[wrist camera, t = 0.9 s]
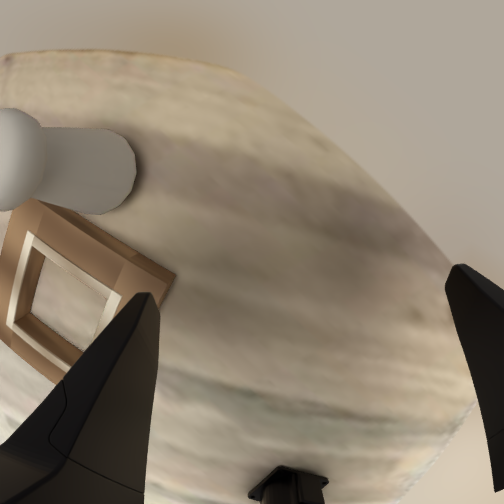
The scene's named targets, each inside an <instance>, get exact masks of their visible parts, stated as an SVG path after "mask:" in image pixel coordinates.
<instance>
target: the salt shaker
mask: <svg viewBox="0 0 504 504" xmlns="http://www.w3.org/2000/svg"><path fill="white" fill-rule="evenodd" d="M136 173H137V171H136V162H135V154H134V152H133V150H132V149H131V147H130V146H129V144H128V142H127V141H126V139H125V138H124V137H122V136H120V135H118V134H117V133H115V132H113V131H111V130H109V129H93V128H62V127H41V125H40V123H39V122H38V121H37V119H35V118H33V117H32V116H30V115H28V114H27V113H25V112H23V111H21V110H18V109H14V108H5V109H1V110H0V211H9V210H14V209H15V208H17V207H18V206H20V205H21V204H22V203H24V202H25V201H27V200H28V199H30V198H34V199H37V200H41V201H44V202H47V203H51V204H54V205H57V206H61V207H64V208H67V209H71V210H74V211H77V212H81V213H84V214H95V215H102V214H104V213H106V212H108V211H110V210H112V209H114V208H116V207H118V206H120V204H121V203H122V202H123V201H124V199H125V198H126V197H127V196H128V195H129V193H130V192H131V190H132V188H133V183H134V180H135V176H136Z"/></svg>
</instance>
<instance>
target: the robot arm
mask: <svg viewBox="0 0 504 504" xmlns="http://www.w3.org/2000/svg"><path fill="white" fill-rule="evenodd" d="M445 292H446V295H447V299H448V302H449V305H450V309H451V312H452V316H453V320H454V323H455V327H456V331H457V334H458V337H459V340H460V342H461V345H462V348H463V351H464V354H465V357H466V360H467V364H468V367H469V370H470V373H471V377H472V380H473V384H474V387H475V391H476V395H477V398H478V402H479V406H480V410H481V415H482V419H483V423H484V428H485V433H486V438H487V444H488V450H489V455H490V462H491V468H492V476H493V485H494V491H495V493H496V492H498V491H500V490H503V489H504V290H503V289H501V288H500V287H499V286H497V285H496V284H494V283H493V282H492V281H490V280H489V279H487V278H486V277H484V276H483V275H481V274H480V273H478V272H477V271H475V270H474V269H472V268H471V267H469V266H468V265H466V264H456V265H454V266H453V267H452V269H451V271H450V274H449V276H448V278H447V281H446V283H445ZM159 333H160V312H159V309H158V307H157V304H156V302H155V299H154V297H153V295H152V293H151V292H137V293H136V294H135V295H134V296H133V297H132V298H131V299H130V300H129V301H128V302H127V304H126V305H125V306H124V307H123V308H122V309H121V310H120V311H119V312H118V314H117V315H116V316H115V317H114V318H113V319H112V320H111V321H110V323H109V324H108V325H107V326H106V327H105V328H104V329H103V331H102V332H101V333H100V334H99V335H98V336H97V337H96V339H95V340H94V341H93V342H92V343H91V344H90V346H89V347H88V348H87V349H86V350H85V351H84V353H83V354H82V355H81V356H80V357H79V359H78V360H77V361H76V362H75V363H74V365H73V366H72V367H71V368H70V369H69V371H68V372H67V373H66V374H65V375H64V377H63V379H61V380H60V381H59V383H58V384H57V385H56V386H55V388H54V389H53V390H52V391H51V392H50V393H49V395H48V396H47V397H46V398H45V399H44V401H43V402H42V403H41V404H40V405H39V406H38V407H37V408H36V409H35V410H34V412H33V413H32V414H31V415H30V416H29V417H28V418H27V419H26V420H25V421H24V422H23V423H22V424H21V425H20V426H19V428H18V429H17V430H16V431H15V432H14V433H13V434H12V435H11V436H10V437H9V438H8V439H7V440H6V441H5V442H4V443H3V444H1V445H0V504H144V490H145V476H146V464H147V453H148V443H149V433H150V424H151V416H152V408H153V400H154V392H155V385H156V378H157V371H158V358H159ZM328 483H329V481H328V478H324V477H320V476H316V475H312V474H308V473H304V472H300V471H296V470H293V469H289V468H286V467H277V468H276V469H275V470H274V471H273V472H272V473H271V474H270V475H269V476H268V477H266V478H265V479H264V480H263V481H262V482H261V483H260V484H259V485H258V486H256V487H255V488H254V489H253V490H252V491H251V492H250V493H249V494H248V498H249V499H253V500H256V501H260V504H325V502H324V498H323V493H322V488H324V487H325V486H326V485H327V484H328Z"/></svg>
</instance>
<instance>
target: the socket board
mask: <svg viewBox="0 0 504 504" xmlns="http://www.w3.org/2000/svg"><path fill="white" fill-rule="evenodd" d="M45 256H46V257H47V258H49V259H50V260H51V261H53V262H54V263H56V264H57V265H58V266H60V267H61V268H62V269H64V270H65V271H67V272H68V273H69V274H71V275H72V276H74V277H75V278H76V279H78V280H79V281H81V282H82V283H84V284H85V285H86V286H88V287H89V288H91V289H92V290H94V291H95V292H97V293H98V294H100V295H101V296H103V297H104V298H106V299H107V300H108V301H107V304H106V306H105V309H104V311H103V314H102V316H101V319H100V321H99V324H98V327H97V329H96V332H95V335H94V337H93V340H92V342H93V341H94V340H95V339H96V337H97V336H98V335H99V334H100V333H101V332H102V331H103V329H104V328H105V327H106V326H107V325H108V324H109V323H110V321H111V320H112V319H113V318H114V317H115V316H116V315H117V314H118V312H119V311H120V310H121V309H122V308H123V307H124V306H125V305H126V304H127V302H128V301H129V300H130V299H131V298H132V297H133V296H134V295H135V294H136V293H137V292H151V293H152V295H153V297H154V299H155V302H156V304H157V307H158V309H159V308H160V306H161V304H162V302H163V300H164V298H165V296H166V294H167V292H168V290H169V288H170V286H171V284H172V282H173V280H174V278H175V277H176V275H175V274H174V273H172V272H170V271H168V270H167V269H165V268H163V267H162V266H160V265H158V264H157V263H155V262H153V261H152V260H150V259H148V258H147V257H145V256H143V255H142V254H140V253H138V252H137V251H135V250H133V249H132V248H130V247H129V246H127V245H125V244H124V243H122V242H120V241H119V240H117V239H116V238H114V237H112V236H111V235H109V234H108V233H106V232H105V231H103V230H101V229H100V228H98V227H97V226H95V225H94V224H92V223H91V222H89V221H87V220H86V219H84V218H83V217H81V216H80V215H78V214H77V213H75V212H74V211H72V210H71V209H67V208H64V207H61V206H57V205H54V204H51V203H47V202H44V201H41V200H37V199H34V198H30V199H28V200H27V201H25V202H24V203H22V204H21V205H20V206H18V207H17V208H15V209H14V210H13V211H12V214H11V218H10V221H9V225H8V228H7V232H6V235H5V239H4V243H3V247H2V251H1V255H0V339H1V340H2V341H3V342H4V343H5V344H6V345H7V346H8V347H10V348H11V349H12V350H13V351H14V352H15V353H16V354H18V355H19V356H20V357H21V358H22V359H24V360H25V361H26V362H27V363H28V364H30V365H31V366H32V367H33V368H35V369H36V370H37V371H38V372H40V373H41V374H42V375H44V376H45V377H46V378H48V379H49V380H50V381H52V382H53V383H54V384H56V385H57V384H58V383H59V381H60V380H61V379H63V377H64V375H65V374H66V373H67V372H68V371H69V369H70V368H71V367H72V366H73V365H74V363H75V362H76V361H77V360H78V359H79V357H80V356H81V355H82V354H83V352H82V351H80V350H79V349H77V348H76V347H75V346H73V345H72V344H70V343H69V342H67V341H66V340H65V339H63V338H62V337H61V336H59V335H58V334H57V333H55V332H54V331H53V330H51V329H50V328H49V327H47V326H46V325H45V324H43V323H42V322H41V321H40V320H38V319H37V318H36V317H35V316H33V315H32V314H31V313H30V310H31V306H32V302H33V298H34V294H35V290H36V286H37V282H38V279H39V275H40V272H41V268H42V265H43V262H44V259H45Z"/></svg>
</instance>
